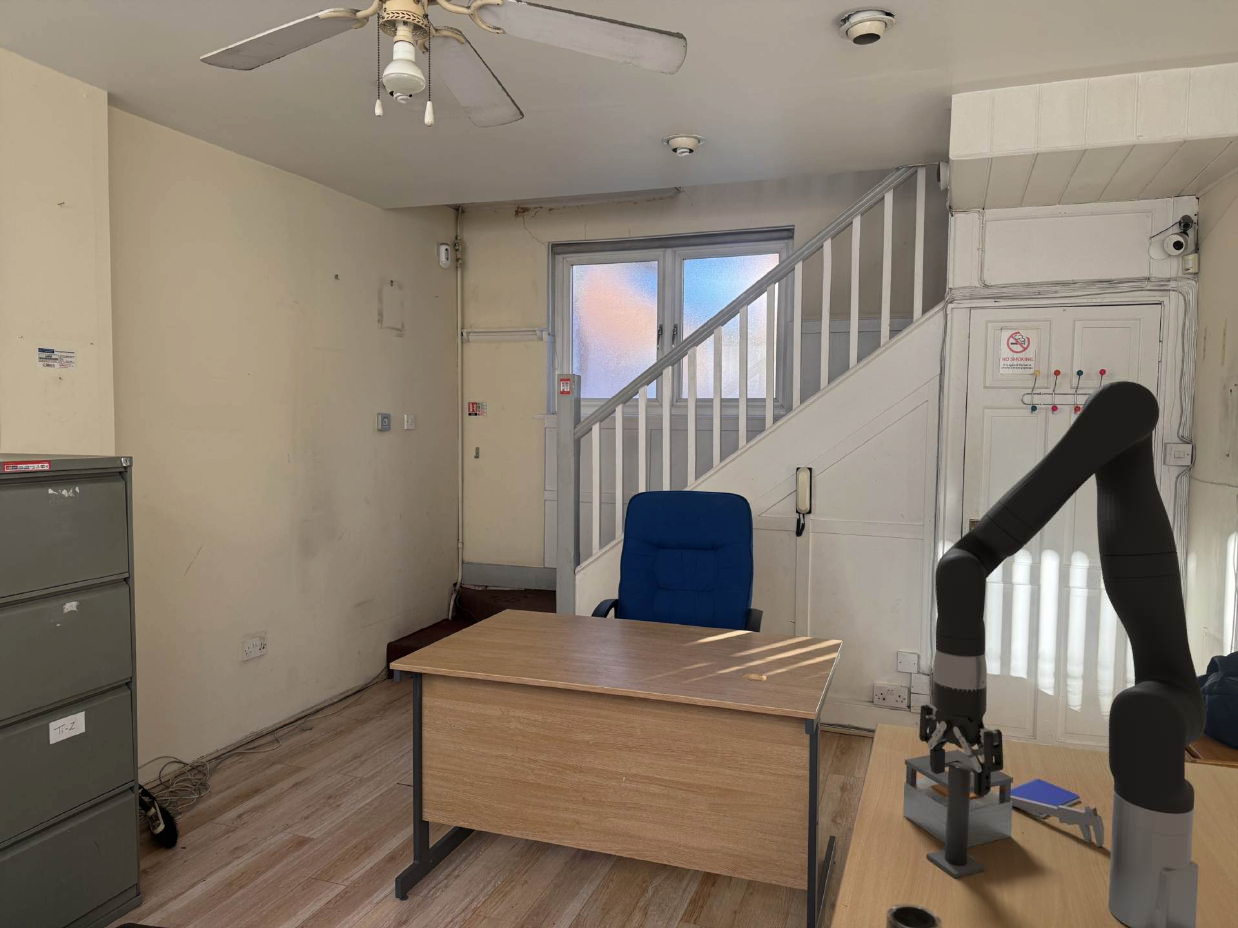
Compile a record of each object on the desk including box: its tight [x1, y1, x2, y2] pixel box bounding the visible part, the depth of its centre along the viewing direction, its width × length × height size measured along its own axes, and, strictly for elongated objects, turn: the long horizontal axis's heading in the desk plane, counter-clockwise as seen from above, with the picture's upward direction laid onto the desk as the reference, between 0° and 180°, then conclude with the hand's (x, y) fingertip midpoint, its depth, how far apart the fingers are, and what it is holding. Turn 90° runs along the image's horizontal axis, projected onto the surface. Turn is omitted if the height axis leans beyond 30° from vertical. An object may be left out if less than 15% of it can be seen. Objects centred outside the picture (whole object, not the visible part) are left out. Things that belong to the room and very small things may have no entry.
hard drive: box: [1011, 778, 1081, 818], centre depth 144 cm, size 2×8×12 cm
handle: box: [944, 762, 972, 866], centre depth 123 cm, size 3×3×15 cm
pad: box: [925, 848, 986, 879], centre depth 123 cm, size 6×6×1 cm
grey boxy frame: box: [902, 749, 1014, 848], centre depth 134 cm, size 12×12×10 cm
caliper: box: [995, 791, 1105, 848], centre depth 137 cm, size 20×1×6 cm, turn 31°
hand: (958, 783), depth 122 cm, fingers open, 8 cm apart
